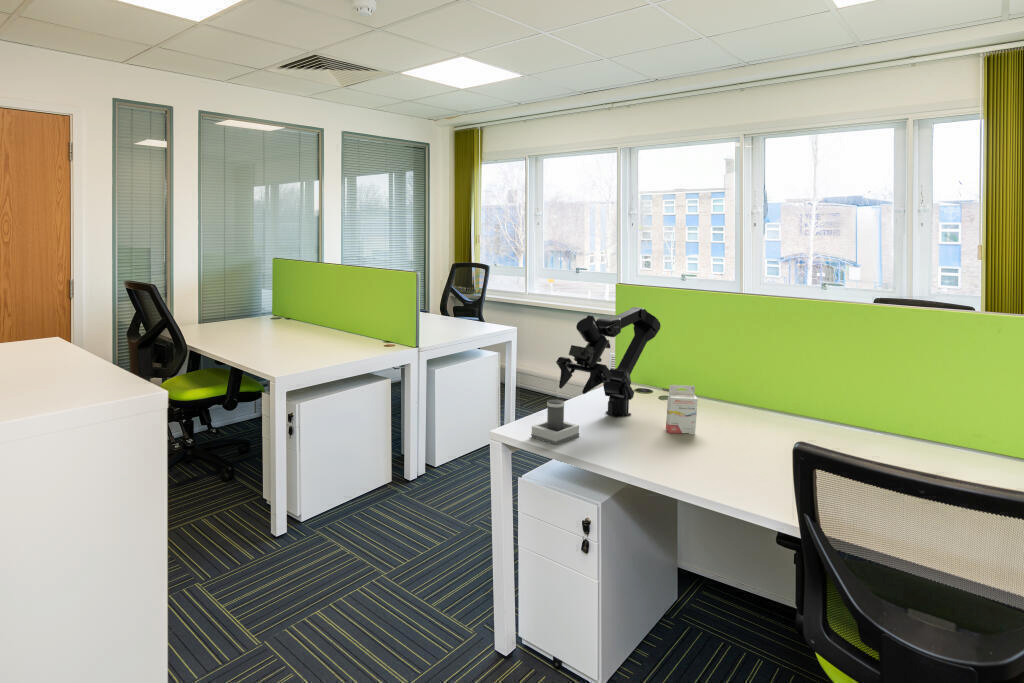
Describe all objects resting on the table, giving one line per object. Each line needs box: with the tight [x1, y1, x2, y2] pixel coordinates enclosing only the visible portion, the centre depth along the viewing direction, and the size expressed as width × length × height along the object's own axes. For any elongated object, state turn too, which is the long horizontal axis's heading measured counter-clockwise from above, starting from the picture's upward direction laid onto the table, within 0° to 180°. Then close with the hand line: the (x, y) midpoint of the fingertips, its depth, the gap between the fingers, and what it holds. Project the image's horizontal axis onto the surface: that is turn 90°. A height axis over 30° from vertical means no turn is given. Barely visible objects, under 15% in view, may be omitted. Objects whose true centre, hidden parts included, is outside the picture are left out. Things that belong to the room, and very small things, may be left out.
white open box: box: [530, 420, 580, 446], centre depth 189 cm, size 11×10×4 cm
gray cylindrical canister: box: [546, 399, 565, 432], centre depth 188 cm, size 5×5×10 cm
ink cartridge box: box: [665, 384, 699, 435], centre depth 194 cm, size 9×5×15 cm, turn 84°
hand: (571, 390), depth 192 cm, fingers open, 9 cm apart
